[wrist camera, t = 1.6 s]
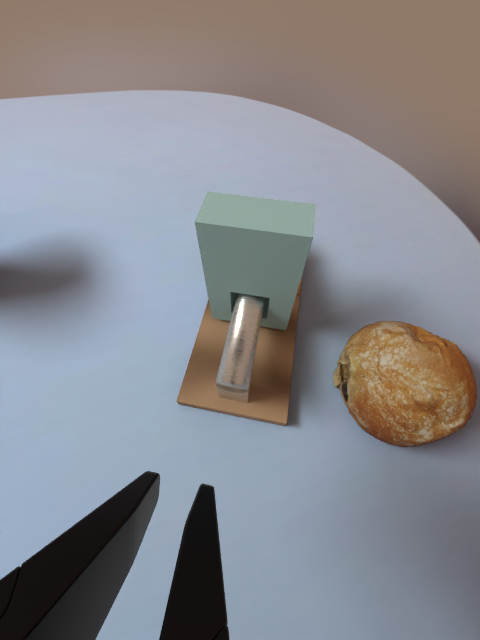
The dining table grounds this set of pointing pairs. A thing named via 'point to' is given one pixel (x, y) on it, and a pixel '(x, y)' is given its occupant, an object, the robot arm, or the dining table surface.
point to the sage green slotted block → (254, 252)
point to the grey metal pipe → (240, 348)
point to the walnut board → (267, 371)
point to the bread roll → (405, 383)
